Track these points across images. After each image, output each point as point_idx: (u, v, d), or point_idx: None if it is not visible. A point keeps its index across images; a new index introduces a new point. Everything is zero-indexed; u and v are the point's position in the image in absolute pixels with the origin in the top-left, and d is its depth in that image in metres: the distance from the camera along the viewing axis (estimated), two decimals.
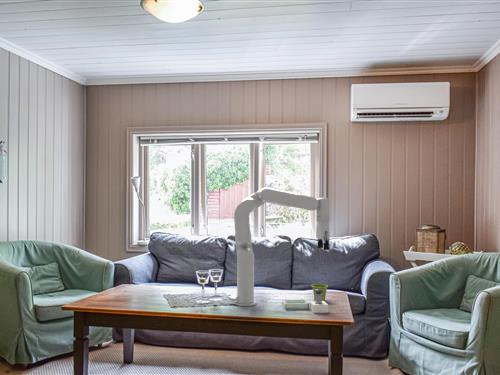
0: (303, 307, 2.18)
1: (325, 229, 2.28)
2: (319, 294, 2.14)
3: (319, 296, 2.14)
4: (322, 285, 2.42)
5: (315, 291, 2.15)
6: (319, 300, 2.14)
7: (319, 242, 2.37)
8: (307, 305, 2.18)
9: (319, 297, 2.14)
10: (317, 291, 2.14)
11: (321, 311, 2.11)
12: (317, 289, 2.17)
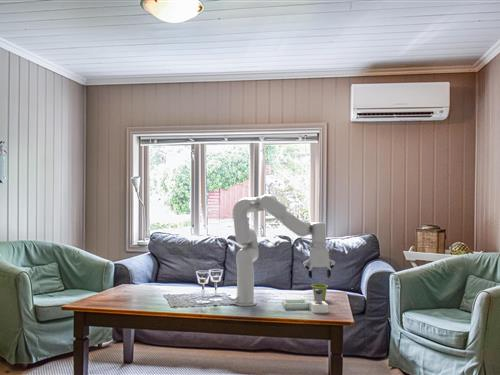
0: (303, 307, 2.18)
1: None
2: (319, 294, 2.14)
3: (319, 296, 2.14)
4: (322, 285, 2.42)
5: (315, 291, 2.15)
6: (319, 300, 2.14)
7: (311, 272, 2.15)
8: (307, 305, 2.18)
9: (319, 297, 2.14)
10: (317, 291, 2.14)
11: (321, 311, 2.11)
12: (317, 289, 2.17)
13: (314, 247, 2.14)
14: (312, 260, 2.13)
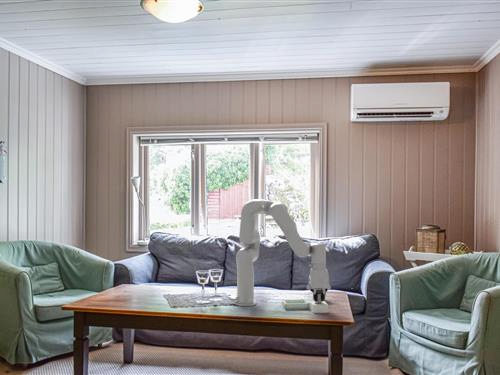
0: (303, 307, 2.18)
1: None
2: (319, 294, 2.14)
3: (319, 296, 2.14)
4: None
5: None
6: (319, 300, 2.14)
7: None
8: (307, 305, 2.18)
9: (319, 297, 2.14)
10: (317, 291, 2.14)
11: (321, 311, 2.11)
12: (317, 289, 2.17)
13: (314, 268, 2.14)
14: (312, 281, 2.13)
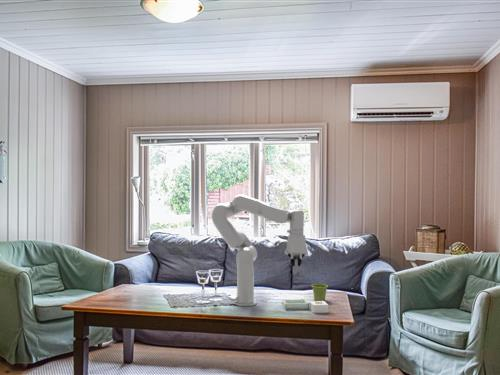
0: (303, 307, 2.18)
1: None
2: (296, 259, 2.22)
3: (296, 261, 2.22)
4: (322, 285, 2.42)
5: None
6: (296, 265, 2.22)
7: (293, 260, 2.22)
8: (307, 305, 2.18)
9: (296, 262, 2.22)
10: (294, 256, 2.21)
11: (321, 311, 2.11)
12: None
13: (291, 234, 2.21)
14: (289, 246, 2.20)
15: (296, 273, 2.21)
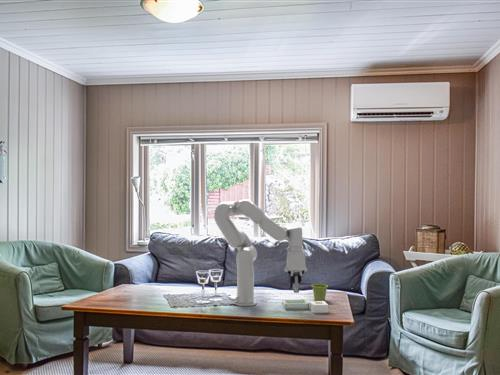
0: (303, 307, 2.18)
1: None
2: (296, 276, 2.22)
3: (296, 278, 2.22)
4: (322, 285, 2.42)
5: None
6: (296, 282, 2.21)
7: (293, 277, 2.22)
8: (307, 305, 2.18)
9: (296, 279, 2.22)
10: (294, 273, 2.21)
11: (321, 311, 2.11)
12: (294, 271, 2.24)
13: (291, 251, 2.21)
14: (289, 264, 2.20)
15: (296, 290, 2.21)
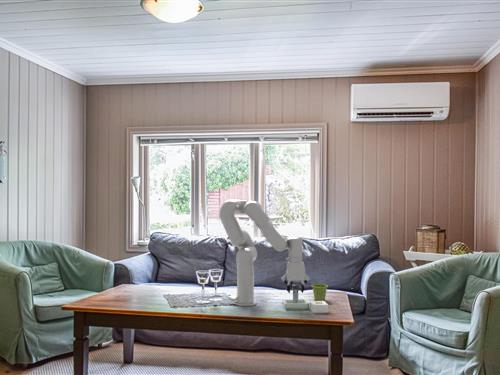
0: (303, 307, 2.18)
1: None
2: (296, 289, 2.21)
3: (296, 291, 2.21)
4: (322, 285, 2.42)
5: (292, 286, 2.22)
6: (296, 295, 2.21)
7: (289, 286, 2.22)
8: (307, 305, 2.18)
9: (296, 292, 2.21)
10: (294, 286, 2.21)
11: (321, 311, 2.11)
12: (294, 284, 2.24)
13: (290, 261, 2.21)
14: (288, 274, 2.20)
15: None
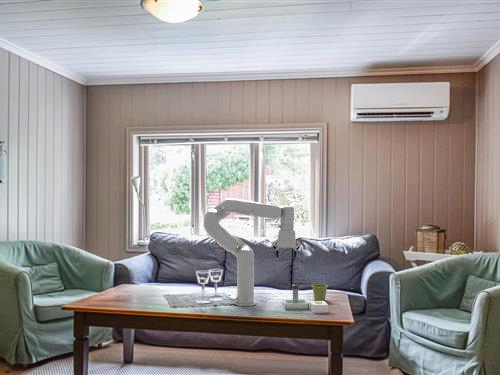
0: (303, 307, 2.18)
1: None
2: (296, 289, 2.22)
3: (296, 291, 2.21)
4: (322, 285, 2.42)
5: (292, 286, 2.22)
6: (296, 295, 2.21)
7: None
8: (307, 305, 2.18)
9: (296, 292, 2.21)
10: (294, 286, 2.21)
11: (321, 311, 2.11)
12: (294, 284, 2.24)
13: (282, 229, 2.29)
14: (279, 241, 2.28)
15: None
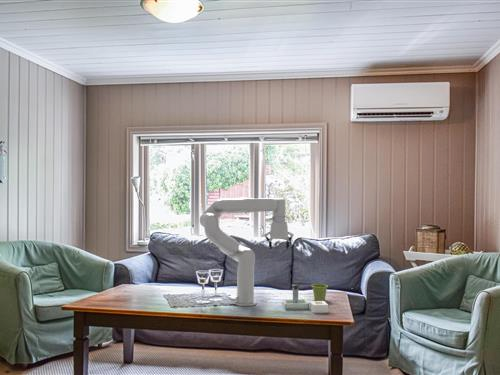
0: (303, 307, 2.18)
1: None
2: (296, 289, 2.22)
3: (296, 291, 2.21)
4: (322, 285, 2.42)
5: (292, 286, 2.22)
6: (296, 295, 2.21)
7: (271, 243, 2.37)
8: (307, 305, 2.18)
9: (296, 292, 2.21)
10: (294, 286, 2.21)
11: (321, 311, 2.11)
12: (294, 284, 2.24)
13: (274, 220, 2.36)
14: (272, 232, 2.35)
15: None
